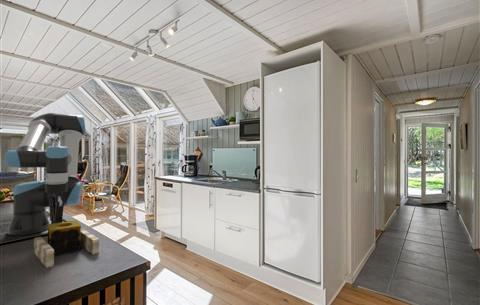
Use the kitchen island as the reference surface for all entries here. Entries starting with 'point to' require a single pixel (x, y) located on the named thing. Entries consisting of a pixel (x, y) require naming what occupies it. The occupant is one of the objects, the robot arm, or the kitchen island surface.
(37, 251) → the rail
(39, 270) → the kitchen island surface
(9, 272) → the kitchen island surface
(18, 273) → the kitchen island surface
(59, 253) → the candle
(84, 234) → the rail
